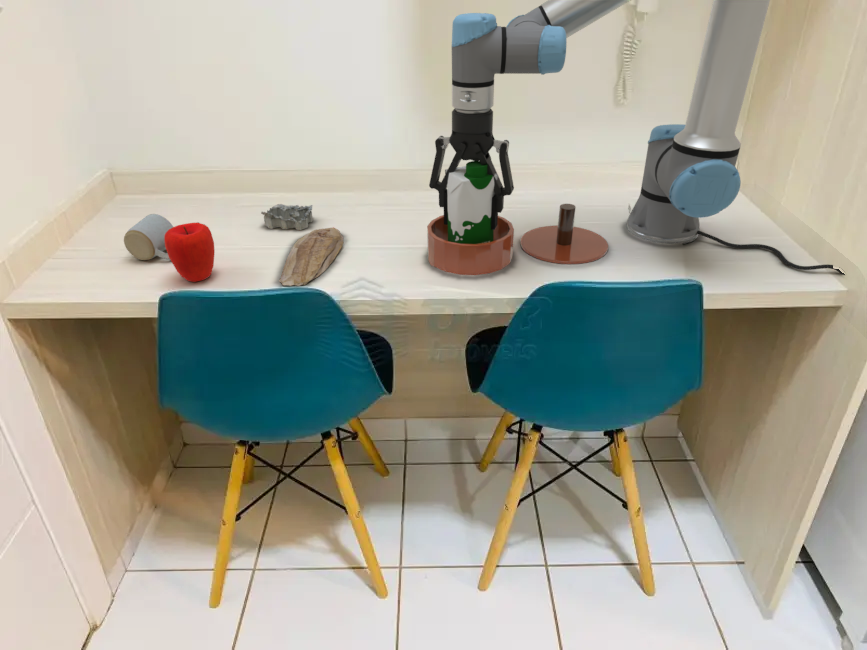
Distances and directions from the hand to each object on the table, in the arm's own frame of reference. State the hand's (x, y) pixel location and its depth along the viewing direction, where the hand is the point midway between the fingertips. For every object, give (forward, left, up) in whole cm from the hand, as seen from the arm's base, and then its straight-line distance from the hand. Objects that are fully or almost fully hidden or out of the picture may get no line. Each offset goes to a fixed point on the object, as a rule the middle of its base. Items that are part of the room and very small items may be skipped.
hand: (470, 224), depth 126 cm
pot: (0, 0, -7) cm, 7 cm away
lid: (-18, -10, -7) cm, 22 cm away
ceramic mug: (+64, +15, -8) cm, 66 cm away
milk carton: (0, 0, -7) cm, 7 cm away
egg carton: (+45, -7, -8) cm, 46 cm away
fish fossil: (+32, +8, -8) cm, 34 cm away
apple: (+50, +22, -8) cm, 55 cm away
